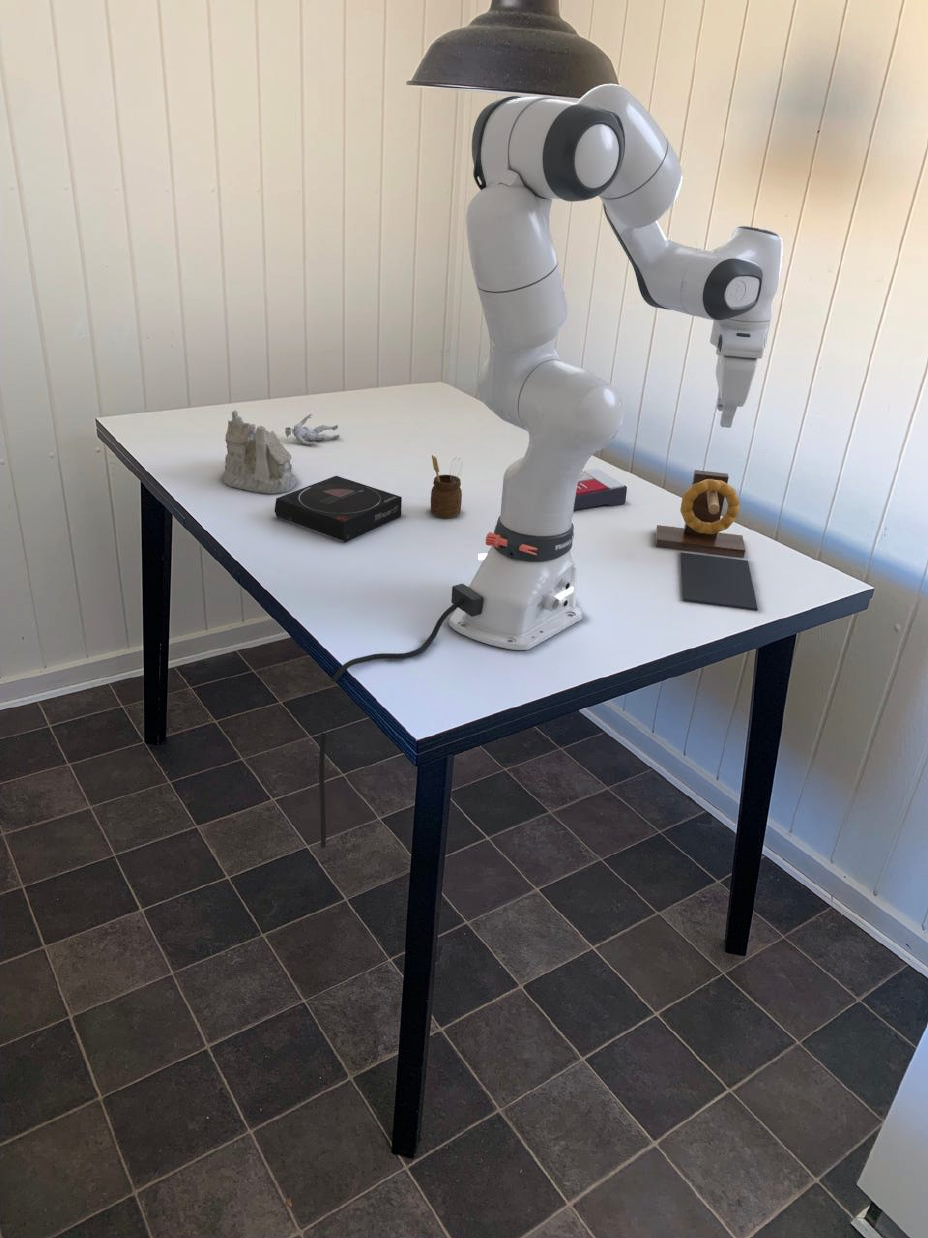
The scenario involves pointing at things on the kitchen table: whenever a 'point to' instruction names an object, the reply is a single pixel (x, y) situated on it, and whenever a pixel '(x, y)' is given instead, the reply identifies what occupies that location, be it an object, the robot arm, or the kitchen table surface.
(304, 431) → the soldier figure
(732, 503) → the ring
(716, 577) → the mat
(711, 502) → the rack
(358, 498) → the portable cd player
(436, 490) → the utensil holder
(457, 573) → the kitchen table surface
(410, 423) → the kitchen table surface
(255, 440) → the ceramic cottage
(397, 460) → the kitchen table surface
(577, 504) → the calculator
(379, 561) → the kitchen table surface
